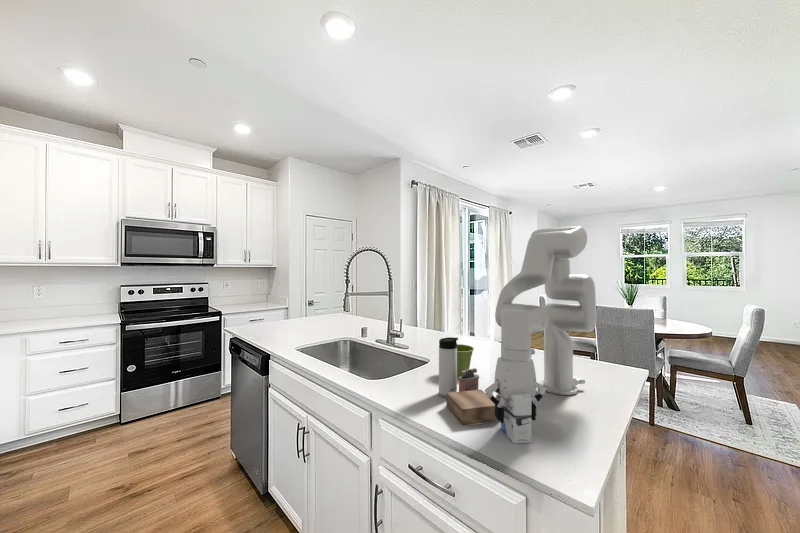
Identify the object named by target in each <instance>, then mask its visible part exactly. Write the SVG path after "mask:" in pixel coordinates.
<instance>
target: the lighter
mask: <svg viewBox="0 0 800 533" xmlns="http://www.w3.org/2000/svg"><path fill="white" fill-rule="evenodd" d="M476 373H478V369H477V368H475V367H474V368H469V369H465V370H464V371H462V376H461V377H457V381H458V392H460V391H471V390H479V379H480V375H479V374H476Z"/></svg>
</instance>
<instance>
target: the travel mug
mask: <svg viewBox="0 0 800 533" xmlns="http://www.w3.org/2000/svg"><path fill="white" fill-rule="evenodd" d="M457 341H459V338H458V337H444V338H443V337H442V338H440V339H439V341H438V342H439V343H438V344H439V345H438V395H439V396H440V397H442V398H445V399H446V393H449V392H458V377H457V344H458V342H457Z"/></svg>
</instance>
